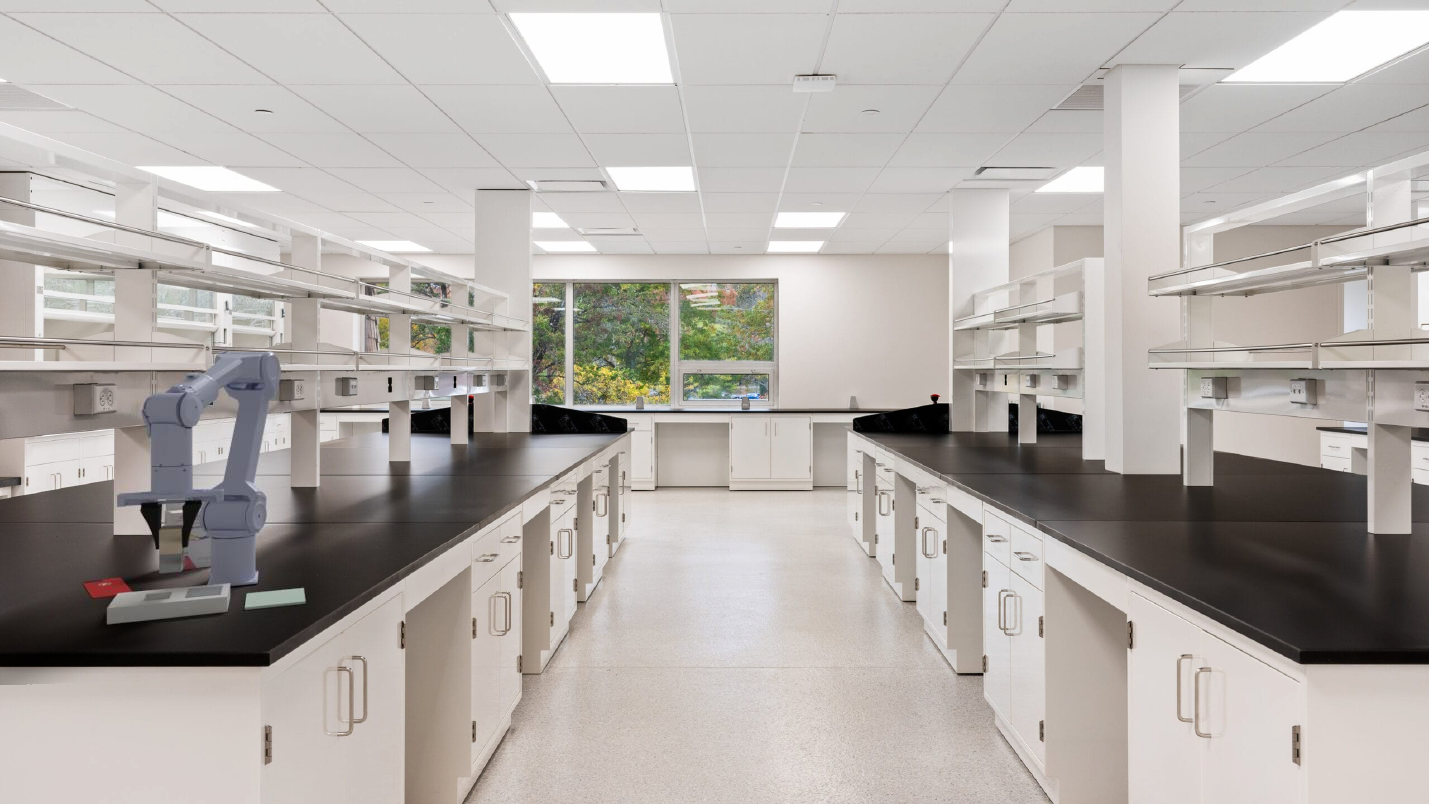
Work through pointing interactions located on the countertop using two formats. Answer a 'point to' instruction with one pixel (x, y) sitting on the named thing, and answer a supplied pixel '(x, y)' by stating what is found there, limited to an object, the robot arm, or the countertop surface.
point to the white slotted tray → (168, 603)
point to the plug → (171, 549)
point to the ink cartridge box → (191, 537)
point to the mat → (274, 598)
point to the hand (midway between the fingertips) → (172, 547)
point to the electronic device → (106, 587)
